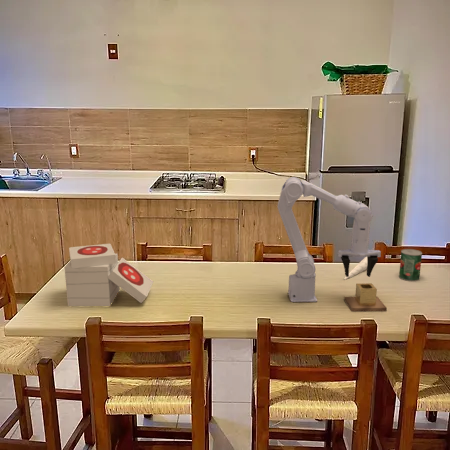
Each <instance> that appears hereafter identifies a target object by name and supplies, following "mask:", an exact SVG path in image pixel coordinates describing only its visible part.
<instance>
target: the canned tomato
mask: <svg viewBox="0 0 450 450" xmlns="http://www.w3.org/2000/svg"><path fill="white" fill-rule="evenodd" d="M422 258H423V252H422V251H421V250H417V249H413V248H404V249H401V250H400V262H399V263H400V264H399V272H398V274H399V275H398V277H399V279H400V280H403V281H407V282H417V281H420V279H421V278H420V277H421V266H422Z"/></svg>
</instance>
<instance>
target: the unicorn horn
mask: <svg viewBox="0 0 450 450" xmlns="http://www.w3.org/2000/svg"><path fill="white" fill-rule="evenodd" d="M364 271H367V256H364V257H363V259H362V260H361V261H360V262H358V263H357V264H356V266H355V267H353V268H352V269H351V270H349V276H348V277H346V276H345V277H344V278H343V280H348V279H350V278H352V277H354V276H357V275H359V274H360V273H362V272H364Z"/></svg>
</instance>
